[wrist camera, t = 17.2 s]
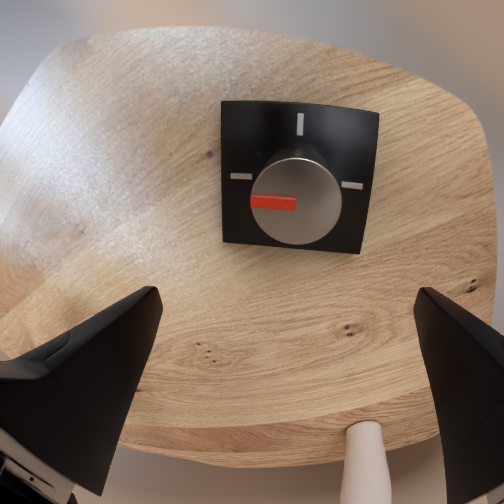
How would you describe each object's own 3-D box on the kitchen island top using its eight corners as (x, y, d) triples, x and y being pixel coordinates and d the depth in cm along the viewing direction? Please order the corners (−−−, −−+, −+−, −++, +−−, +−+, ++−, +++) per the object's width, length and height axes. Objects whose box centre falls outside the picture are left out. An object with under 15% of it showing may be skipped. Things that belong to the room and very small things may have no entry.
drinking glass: (367, 438, 35) (369, 519, 22) (332, 433, 35) (328, 521, 21) (394, 419, 31) (402, 509, 18) (358, 414, 31) (361, 513, 18)
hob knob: (334, 149, 16) (348, 163, 12) (327, 214, 18) (336, 251, 14) (264, 143, 17) (250, 155, 12) (261, 209, 19) (248, 243, 14)
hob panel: (374, 113, 16) (380, 113, 14) (356, 245, 21) (360, 256, 19) (226, 101, 17) (220, 100, 16) (227, 234, 22) (221, 243, 20)
